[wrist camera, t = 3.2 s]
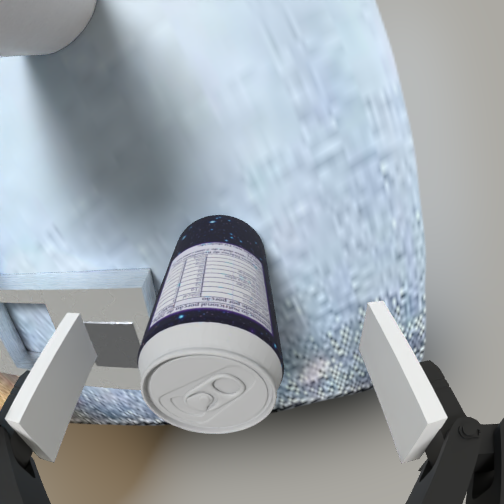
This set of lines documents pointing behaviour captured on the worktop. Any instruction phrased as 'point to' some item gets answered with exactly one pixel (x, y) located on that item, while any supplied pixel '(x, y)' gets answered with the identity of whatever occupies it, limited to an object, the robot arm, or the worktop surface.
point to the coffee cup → (41, 25)
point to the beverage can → (213, 332)
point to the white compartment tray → (84, 318)
